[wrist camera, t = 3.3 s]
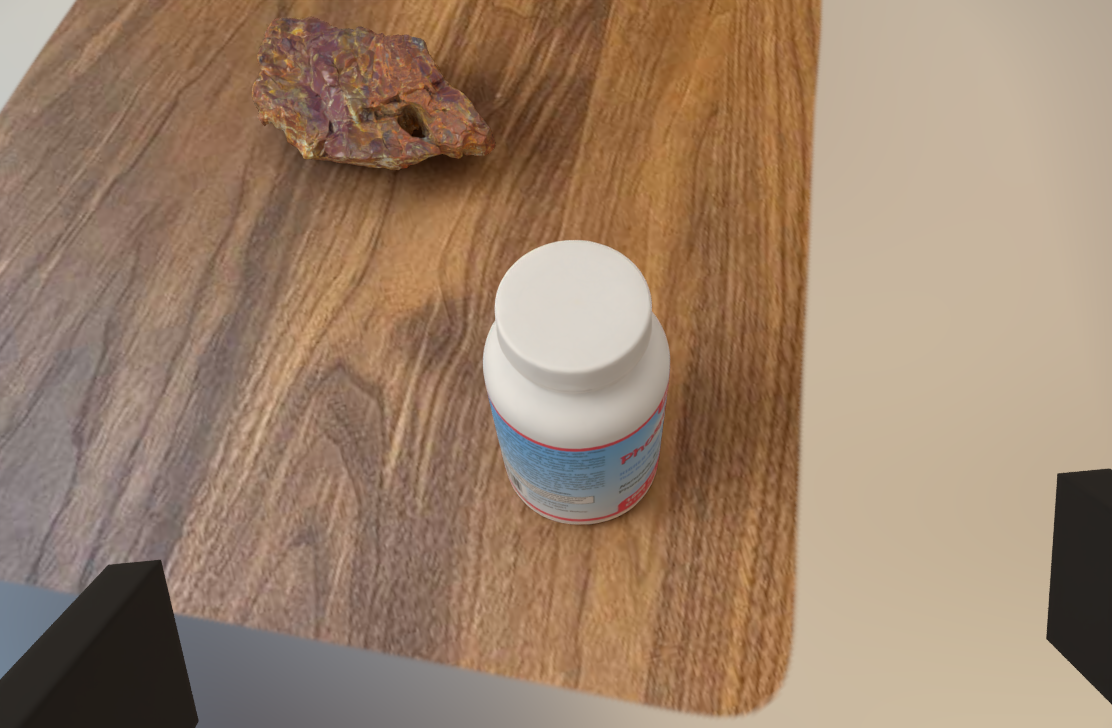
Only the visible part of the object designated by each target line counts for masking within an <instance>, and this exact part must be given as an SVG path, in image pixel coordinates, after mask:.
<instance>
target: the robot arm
mask: <svg viewBox="0 0 1112 728" xmlns="http://www.w3.org/2000/svg"><path fill="white" fill-rule="evenodd" d="M1046 639H1047V640H1048V641H1049V642H1050V643H1051V644H1052V645H1053V646H1054V647H1055V648H1056V649H1057V650H1058V651H1059V652H1060V653H1061V654H1062V655H1063V656H1064V657H1065V658H1066V659H1067V660H1068V661H1069V662H1070V663H1071V664H1072V665H1073V666H1074V667H1075V668H1076V669H1077V670H1078V671H1079V672H1080V673H1081V674H1082V675H1083V676H1084V677H1085V678H1086V679H1087V680H1088V681H1089V682H1090V683H1091V684H1092V685H1093V686H1094V687H1095V688H1096V689H1097V690H1098V691H1099V692H1100V693H1101V694H1102V695H1103V696H1104V697H1105V698H1106V699H1107V700H1108V701H1109V702H1110V703H1111V704H1112V470H1111V469H1100V470H1090V471H1079V472H1069V473H1059V474H1057V489H1056V504H1055V518H1054V533H1053V548H1052V563H1051V578H1050V592H1049V608H1048V623H1047V637H1046ZM197 723H198V716H197V712H196V708H195V704H194V699H193V695H192V691H191V686H190V682H189V678H188V674H187V669H186V665H185V661H184V656H183V652H182V648H181V643H180V640H179V635H178V631H177V626H176V623H175V618H174V614H173V609H172V605H171V601H170V596H169V592H168V588H167V584H166V579H165V575H164V571H163V566H162V562H161V560H154V561H143V562H133V563H122V564H112V565H108V566H107V567H106V568H105V569H104V570H103V571H102V572H101V573H100V574H99V575H98V576H97V577H96V578H95V580H94V581H93V582H92V583H91V584H90V585H89V586H88V587H87V588H86V589H85V590H84V591H83V592H82V593H81V594H80V595H79V597H78V598H77V599H76V600H75V601H74V602H73V603H72V604H71V605H70V606H69V607H68V608H67V609H66V610H65V611H64V612H63V614H62V615H61V616H60V617H59V618H58V619H57V620H56V621H55V622H54V623H53V624H52V625H51V626H50V627H49V628H48V629H47V630H46V632H45V633H44V634H43V635H42V636H41V637H40V638H39V639H38V640H37V641H36V642H35V643H34V644H33V645H32V646H31V647H30V649H29V650H28V651H27V652H26V653H25V654H24V655H23V656H22V657H21V658H20V659H19V660H18V661H17V662H16V663H15V664H14V665H13V667H12V668H11V669H10V670H9V671H8V672H7V673H6V674H5V675H4V676H3V677H2V678H1V679H0V728H195V727H196V725H197Z"/></svg>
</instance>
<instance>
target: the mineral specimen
mask: <svg viewBox="0 0 1112 728" xmlns="http://www.w3.org/2000/svg"><path fill="white" fill-rule="evenodd" d="M257 62H258V64H259V66H260V67H261V72H260V73H259V77H260V78H258V79H257V80H256V82H254V84H253V86H252V98H253V101H254V104H255V106H256V107H257V109H258V111H259V113H258V119H259V120H260V121H261V123H262V124H263V125H264V126H265V125H266V124H270V123H273V125H274V126H275V127H276V128H277V129H281V130H283V131H284V132H285V135H286V137H287V142H288V143H290V144H291V145H293V146H295V147H296V148H298V149H299V151H300V153H301V154H302V155H303V158H304V159H315V160H316V159H317V160H322V161H324V160H330V161H332V162H337V163H346V164H351V165H356V166H366V167H370V168H373V167H374V168H386V169H389V170H400V169H402V168H408V166H409V165H414V164H417V163H419V162H420V161H422V160H425V159H427V158H428V157H431V156H435V155H439V154H445V155H448V156H450V157H453V158H459V159H460V158H461V157H462V156H463V153H464V154H465V155H475V156H479V155H480V156H481V155H487V154H489V153H490V152H491V151H492V150H493V149H494V148H495V144H496V143H495V140H494V137H493V134H492V131H491V129H490V127H489V126H488V125H487V124H486V122H485V121H484V119H483V118H482V117H481V116H480V115H479V113H478V112H477V111H476V110H475V107H474V105H473V104H472V102H471V101H470V100H469V99H468V98H467V97H466V96H465V95H464V94H463V93H462V92H461V91H459V90H457V89H454V88H453V87H452V86H451V85H449V82H448V81H447V80H445V79H444V77H443V75H442V73H441V72H440V69H439V67H438V65H437V64H436V63H435V62H434V61H433V59H432V57H431V56H430V55H429V52H428V50H427V45H426V43H425V41H424V40H422V39H421V38H416V37H411V36H409V35H393V36H385V35H384V34H383V33H381V34H376V33H374V32H373V31H372V30H369V29H367V28H363V27H357V28H356V29H355V30H353V29H349V28H348V29H338V28H337V27H333V26H332V25H330V24H329V23H327V22H325V21H322V20H320V19H318V18H314V17H308V18H305V19H295V18H276V19H274V20H273V21H272V22H271V24H270V25H269V26H268V28H267V30H266V33H265V38H264V39H263V43H262V45H261V46H260V47H259V52H258V55H257ZM418 127H420V128H421V131H422V134H423V135H424V136H425V138H418V137H412V136H411V134H412V133H413V130H418V129H419V128H418Z"/></svg>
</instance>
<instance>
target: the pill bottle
mask: <svg viewBox="0 0 1112 728" xmlns="http://www.w3.org/2000/svg"><path fill="white" fill-rule="evenodd" d="M495 319H496V320H495V322H494V323H493V325H492V327H491V329H490V331H489V334H488V336H487V340H486V343H485V348H484V355H483V372H484V378H485V385H486V389H487V393H488V397H489V401H490V405H491V410H492V414H493V419H494V423H495V427H496V431H497V435H498V439H499V443H500V447H501V452H502V455H503V460H504V464H505V468H506V471H507V474H508V477H509V480H510V482H511V484H512V486H513V488H514V490H515V491H516V493H517V494H518V496H519V497H520V498H521V499H522V500H523V502H524V503H525V504H526V505H528V506H529V507H530V508H531V509H532V510H534V511H535V512H537V513H538V514H540V515H542V516H544V517H546V518H548V519H551V520H554V521H557V522H561V523H567V524H594V523H600V522H604V521H608V520H611V519H614V518H616V517H618V516H620V515H622V514H624V513H626V512H627V511H629V510H630V509H632V508H633V507H634V506H635V505H636V504H637V503H638V502H639V501H640V500H641V499H642V498H643V497H644V495H645V494H646V493H647V491H648V489H649V488H650V486H651V484H652V482H653V480H654V477H655V474H656V471H657V466H658V461H659V454H660V447H661V438H662V430H663V422H664V415H665V407H666V401H667V391H668V384H669V376H670V353H669V347H668V342H667V338H666V335H665V333H664V330H663V328H662V326H661V324H660V322H659V321H658V319H657V317H656V316H655V314H654V313H653V312H652V300H651V294H650V291H649V287H648V285H647V282H646V280H645V278H644V277H643V275H642V273H641V272H640V270H639V269H638V268H637V267H636V265H635V264H634V263H633V262H632V261H631V260H630V259H628V258H627V257H625V256H624V255H623V254H621V253H620V252H618V251H616V250H614V249H612V248H610V247H608V246H605V245H602V244H598V243H595V242H590V241H582V240H566V241H559V242H554V243H550V244H546V245H544V246H541V247H539V248H536V249H534V250H532V251H530V252H529V253H527V254H525V255H524V256H522V257H521V258H520V259H519V260H518V261H517V262H516V263H515V264H514V265H512V267H511V268H510V269H509V270H508V271H507V273H506V274H505V276H504V277H503V279H502V281H501V283H500V285H499V288H498V291H497V294H496V300H495Z"/></svg>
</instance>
